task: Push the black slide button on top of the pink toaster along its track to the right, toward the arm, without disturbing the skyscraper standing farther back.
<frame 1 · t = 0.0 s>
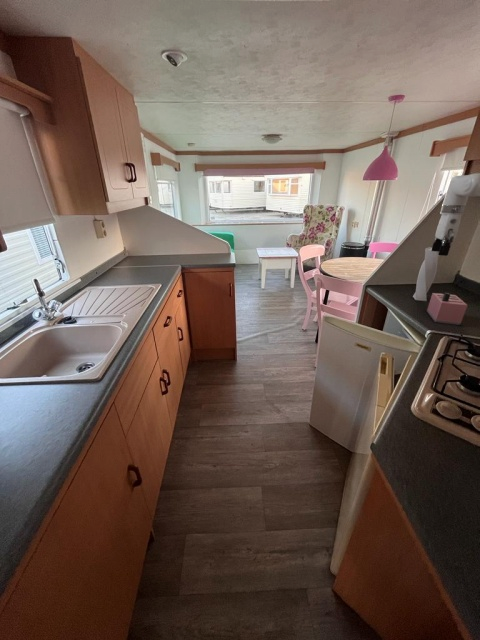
hand: (438, 253, 114), 27 cm above the counter, tool pointing down, fingers open, 9 cm apart
slider: (446, 296, 112), point 11 cm above the counter, slide at 0.0 cm
skyscraper: (419, 299, 140), on the counter
toaster: (442, 317, 119), on the counter
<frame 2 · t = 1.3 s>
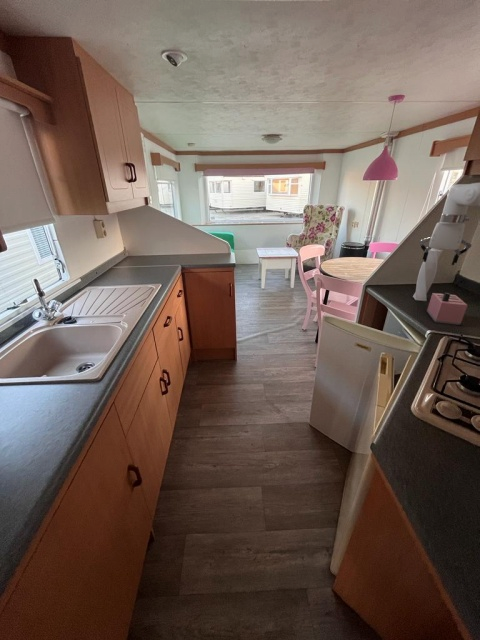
hand: (438, 263, 111), 24 cm above the counter, tool pointing down, fingers open, 9 cm apart
nothing on the counter moved.
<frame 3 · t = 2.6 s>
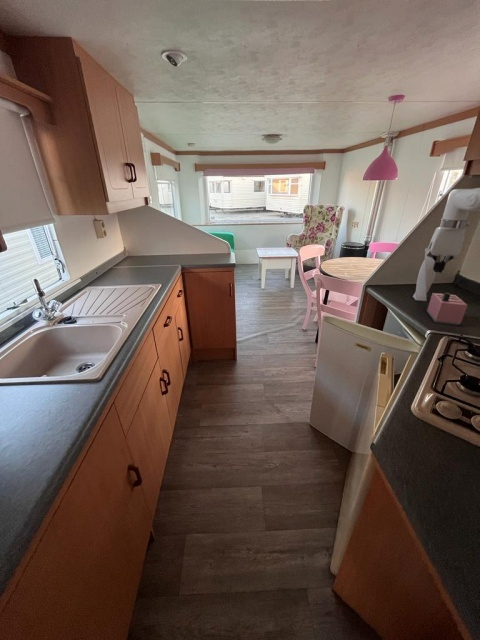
hand: (437, 271, 109), 21 cm above the counter, tool pointing down, fingers closed
nothing on the counter moved.
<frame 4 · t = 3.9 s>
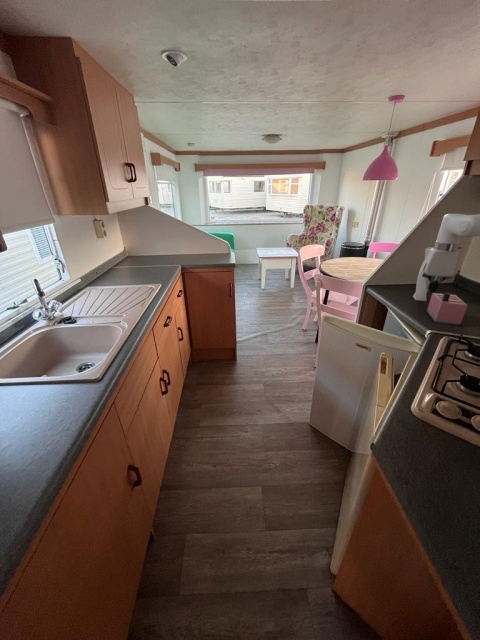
hand: (431, 291, 113), 13 cm above the counter, tool pointing down, fingers closed
nothing on the counter moved.
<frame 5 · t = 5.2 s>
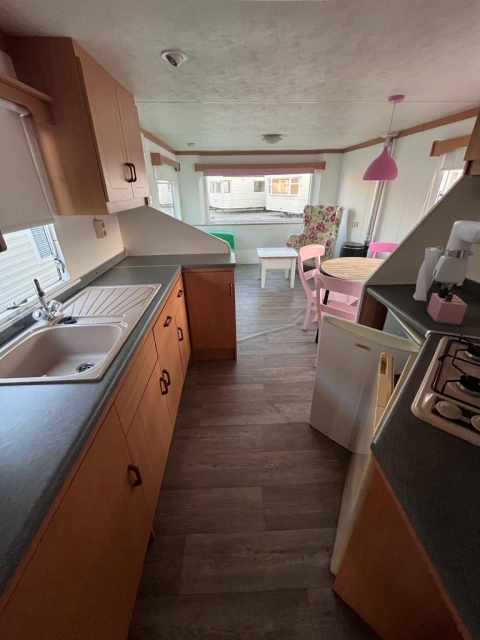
hand: (441, 297, 112), 10 cm above the counter, tool pointing down, fingers closed
slider: (449, 297, 111), point 11 cm above the counter, slide at 1.1 cm, touching gripper
everything else where it was.
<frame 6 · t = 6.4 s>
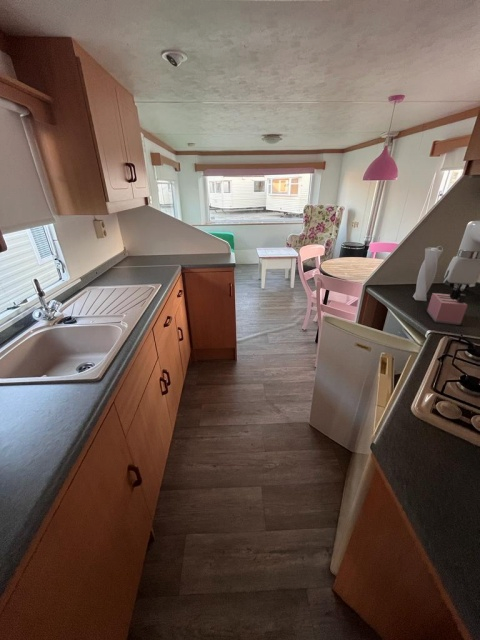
hand: (453, 298, 111), 10 cm above the counter, tool pointing down, fingers closed
slider: (461, 298, 110), point 11 cm above the counter, slide at 5.4 cm, touching gripper
everything else where it was.
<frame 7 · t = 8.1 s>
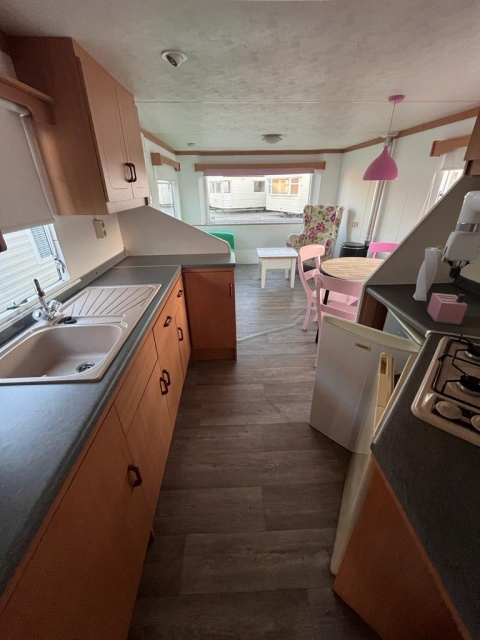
hand: (453, 277, 104), 20 cm above the counter, tool pointing down, fingers closed
slider: (460, 298, 110), point 11 cm above the counter, slide at 5.1 cm
everything else where it was.
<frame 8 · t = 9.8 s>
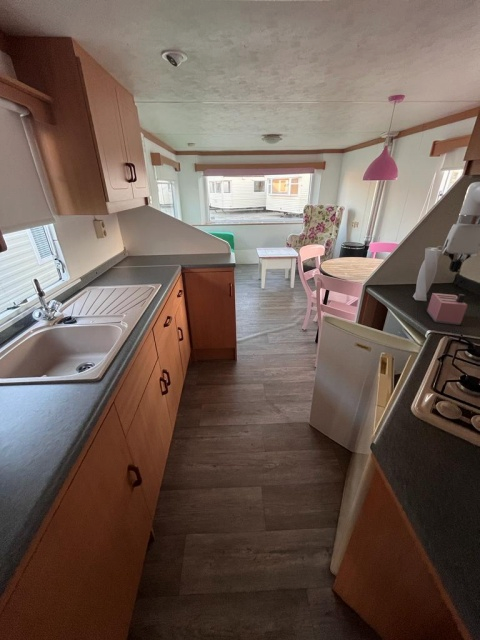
hand: (453, 271, 102), 23 cm above the counter, tool pointing down, fingers closed
nothing on the counter moved.
at the end: slider slide at 5.1 cm; skyscraper moved 0.2 cm from its start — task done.
